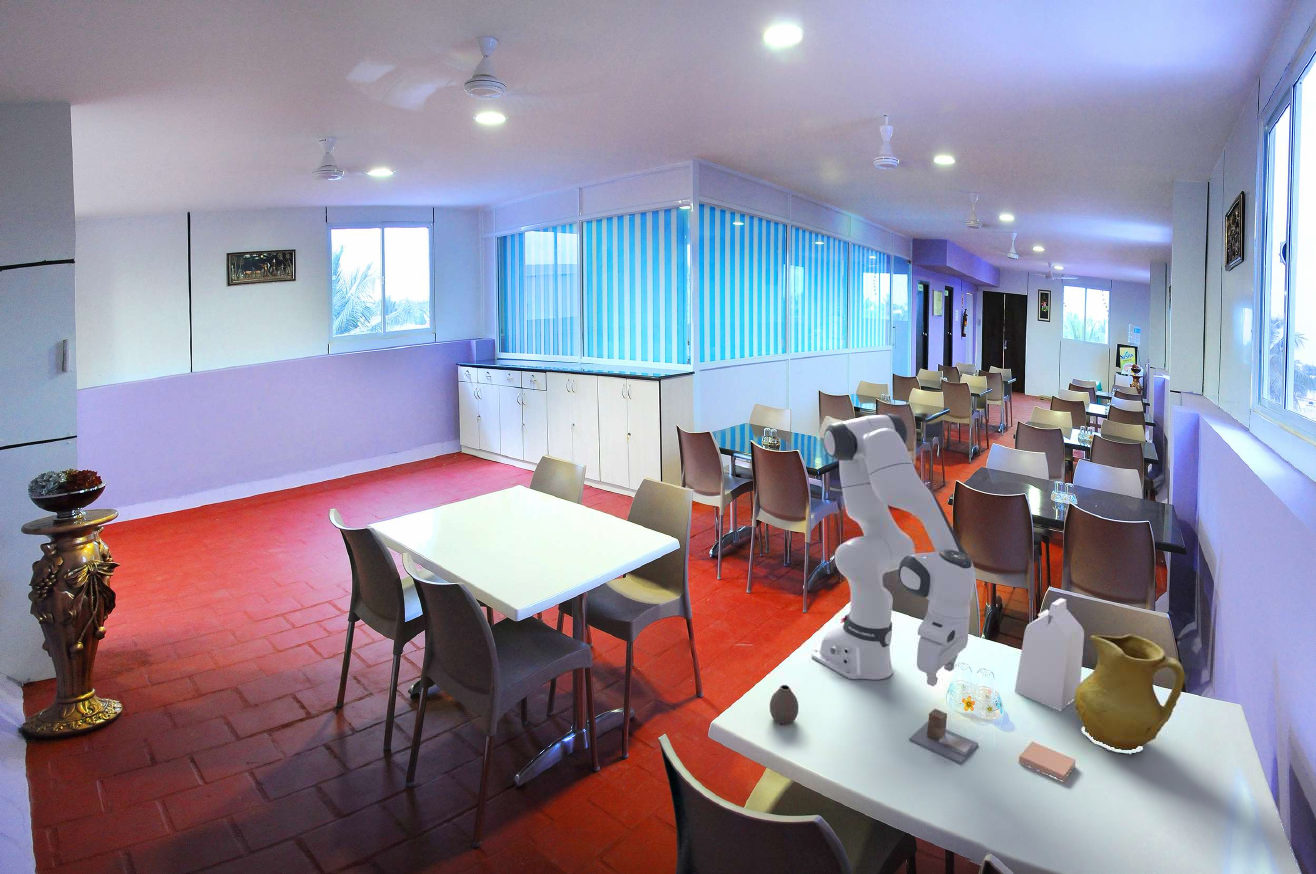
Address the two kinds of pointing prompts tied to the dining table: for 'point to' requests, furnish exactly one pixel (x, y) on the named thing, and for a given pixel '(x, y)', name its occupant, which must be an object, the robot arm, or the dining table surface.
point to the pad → (933, 745)
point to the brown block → (938, 733)
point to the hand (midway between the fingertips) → (940, 676)
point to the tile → (1047, 761)
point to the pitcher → (1126, 692)
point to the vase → (784, 706)
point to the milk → (1051, 657)
